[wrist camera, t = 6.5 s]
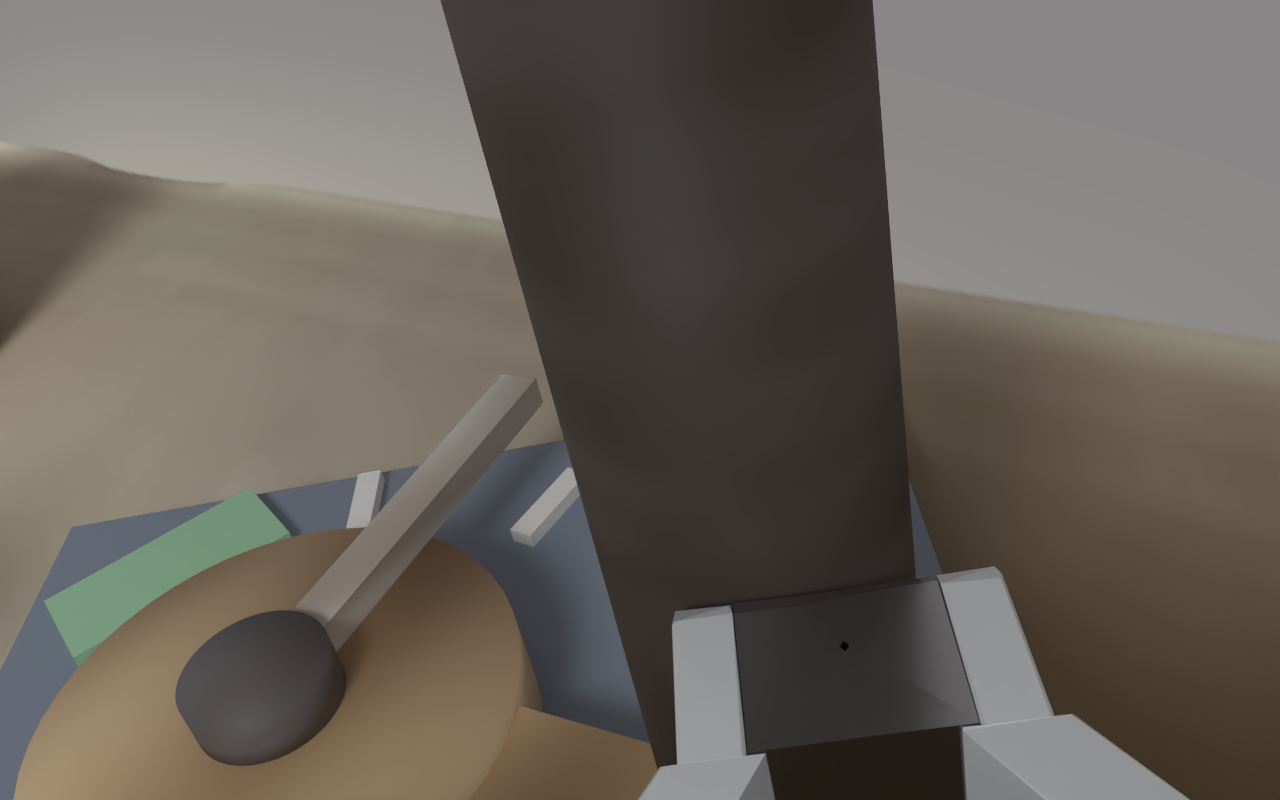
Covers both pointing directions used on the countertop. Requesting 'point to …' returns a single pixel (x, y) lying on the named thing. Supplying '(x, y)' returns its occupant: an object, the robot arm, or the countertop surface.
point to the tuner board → (479, 526)
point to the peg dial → (569, 430)
